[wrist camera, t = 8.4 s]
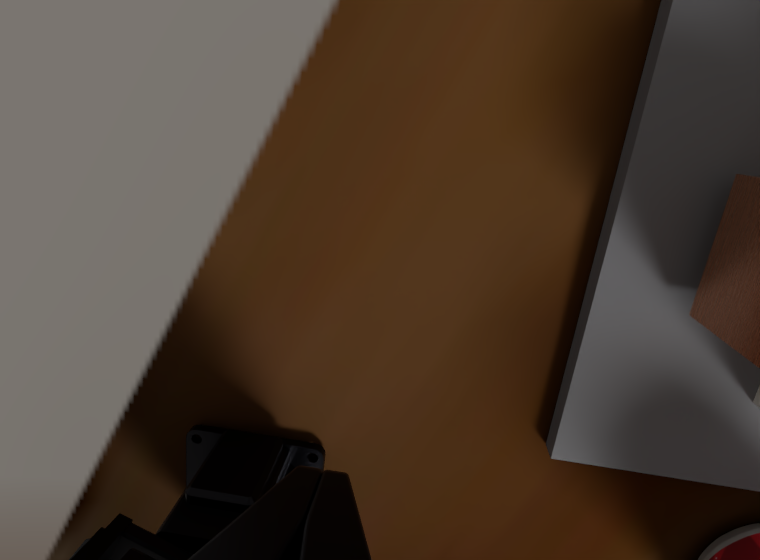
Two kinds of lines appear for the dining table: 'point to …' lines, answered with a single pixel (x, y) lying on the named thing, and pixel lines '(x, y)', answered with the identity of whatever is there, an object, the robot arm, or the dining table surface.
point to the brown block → (734, 273)
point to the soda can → (735, 545)
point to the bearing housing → (670, 266)
